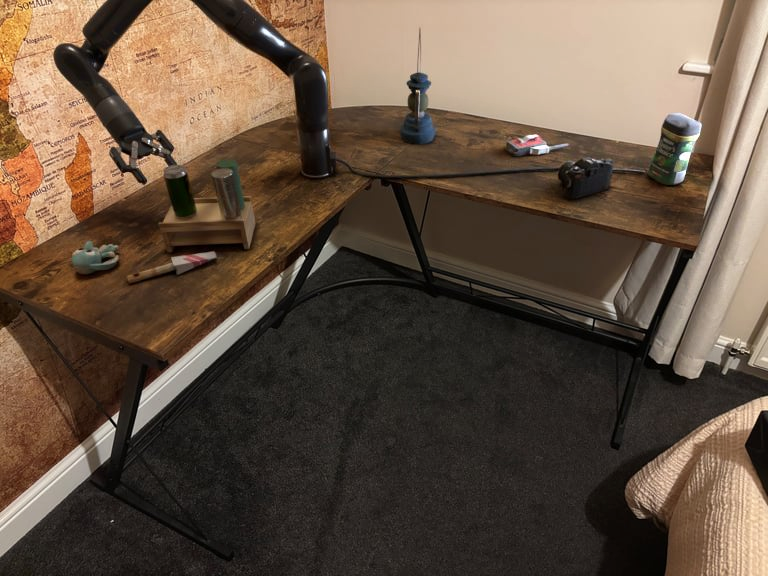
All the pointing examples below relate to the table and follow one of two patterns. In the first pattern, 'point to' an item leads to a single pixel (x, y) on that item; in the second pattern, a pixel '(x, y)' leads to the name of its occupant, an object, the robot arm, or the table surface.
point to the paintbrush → (175, 266)
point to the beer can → (180, 191)
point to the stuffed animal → (94, 258)
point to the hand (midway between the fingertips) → (160, 176)
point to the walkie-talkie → (530, 146)
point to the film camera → (585, 176)
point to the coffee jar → (674, 149)
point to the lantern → (418, 109)
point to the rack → (214, 214)
